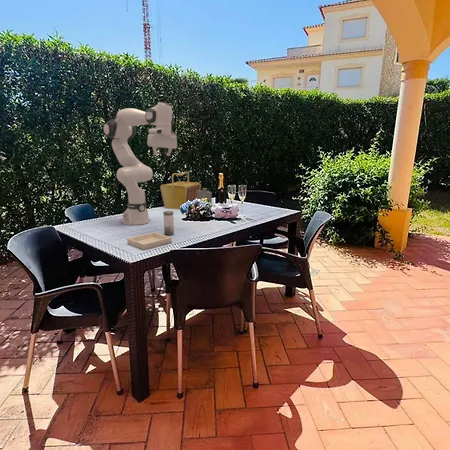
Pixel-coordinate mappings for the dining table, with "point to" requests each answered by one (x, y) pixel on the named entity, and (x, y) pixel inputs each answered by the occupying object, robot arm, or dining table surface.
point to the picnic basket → (179, 192)
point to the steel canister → (168, 223)
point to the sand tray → (149, 240)
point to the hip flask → (204, 194)
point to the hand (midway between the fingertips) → (162, 155)
